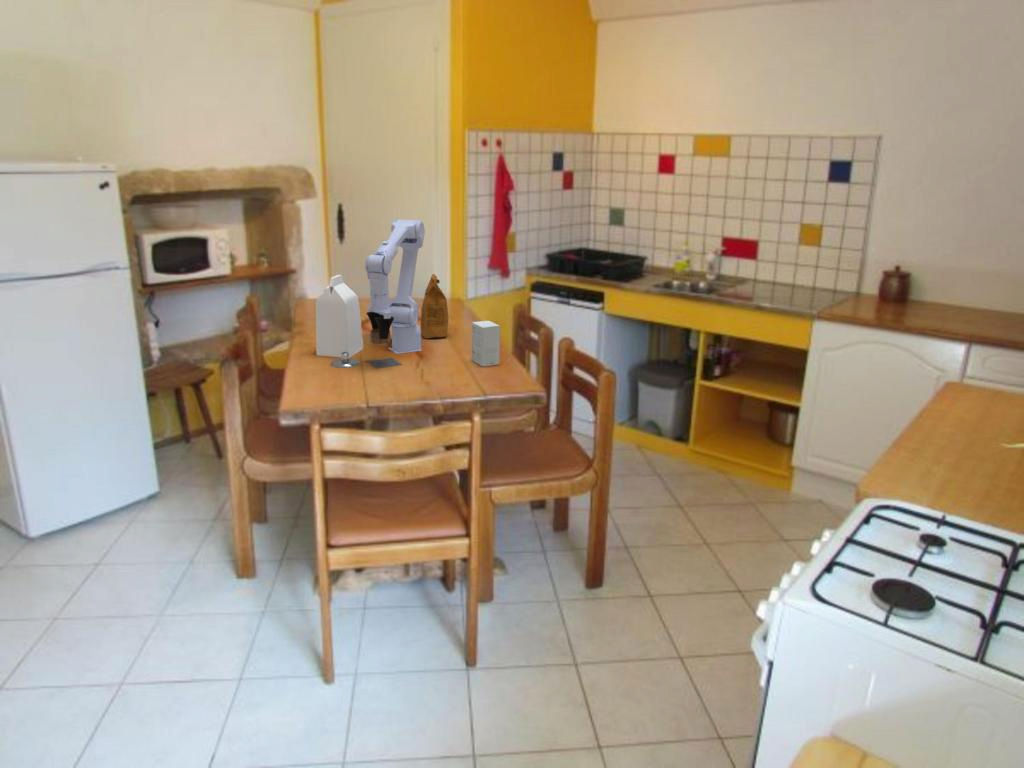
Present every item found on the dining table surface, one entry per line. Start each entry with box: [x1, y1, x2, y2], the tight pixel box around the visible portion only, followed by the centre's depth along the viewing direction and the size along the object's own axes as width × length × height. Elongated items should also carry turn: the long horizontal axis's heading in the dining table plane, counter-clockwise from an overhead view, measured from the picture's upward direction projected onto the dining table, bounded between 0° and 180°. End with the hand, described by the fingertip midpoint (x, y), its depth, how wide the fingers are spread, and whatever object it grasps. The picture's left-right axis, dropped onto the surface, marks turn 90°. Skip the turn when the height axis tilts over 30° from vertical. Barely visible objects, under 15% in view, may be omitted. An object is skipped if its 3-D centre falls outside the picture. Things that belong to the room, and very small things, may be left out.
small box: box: [471, 320, 501, 367], centre depth 242 cm, size 8×6×13 cm
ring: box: [370, 329, 392, 345], centre depth 236 cm, size 6×6×4 cm
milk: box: [315, 274, 364, 359], centre depth 247 cm, size 12×12×26 cm
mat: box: [365, 357, 403, 370], centre depth 239 cm, size 9×9×1 cm
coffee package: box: [420, 273, 449, 339], centre depth 273 cm, size 10×12×22 cm
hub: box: [330, 352, 361, 369], centre depth 237 cm, size 9×9×4 cm
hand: (380, 336), depth 236 cm, fingers closed on ring, 6 cm apart
